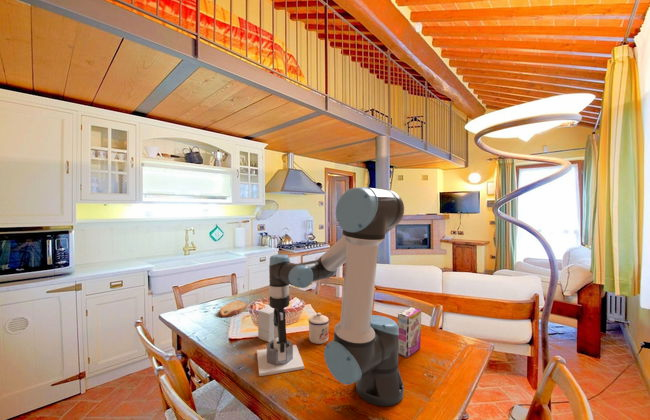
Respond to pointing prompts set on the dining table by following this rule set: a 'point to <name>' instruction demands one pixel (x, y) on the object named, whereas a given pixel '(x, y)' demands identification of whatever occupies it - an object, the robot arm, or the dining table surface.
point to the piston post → (272, 369)
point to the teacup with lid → (318, 328)
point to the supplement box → (266, 324)
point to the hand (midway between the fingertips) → (279, 350)
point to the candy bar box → (409, 331)
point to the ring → (273, 354)
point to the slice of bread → (232, 309)
